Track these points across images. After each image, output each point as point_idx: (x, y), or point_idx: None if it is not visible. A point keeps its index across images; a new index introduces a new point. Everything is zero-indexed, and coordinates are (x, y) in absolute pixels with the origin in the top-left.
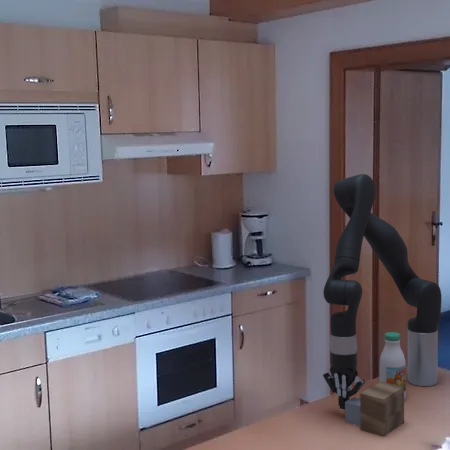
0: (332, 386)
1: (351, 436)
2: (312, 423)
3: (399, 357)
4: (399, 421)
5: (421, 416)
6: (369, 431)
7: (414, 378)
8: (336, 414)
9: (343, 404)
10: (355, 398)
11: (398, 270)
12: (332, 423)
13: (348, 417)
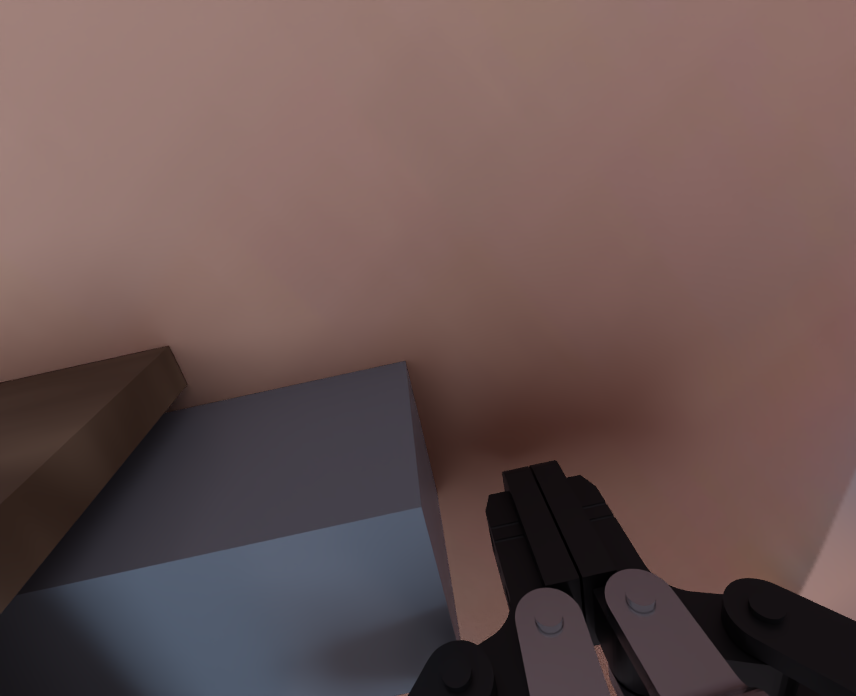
0: (853, 678)
1: (60, 142)
2: (630, 57)
3: None
4: None
5: None
6: (65, 372)
7: None
8: (573, 412)
9: (524, 507)
10: (415, 661)
11: None
12: (465, 241)
13: (366, 396)
